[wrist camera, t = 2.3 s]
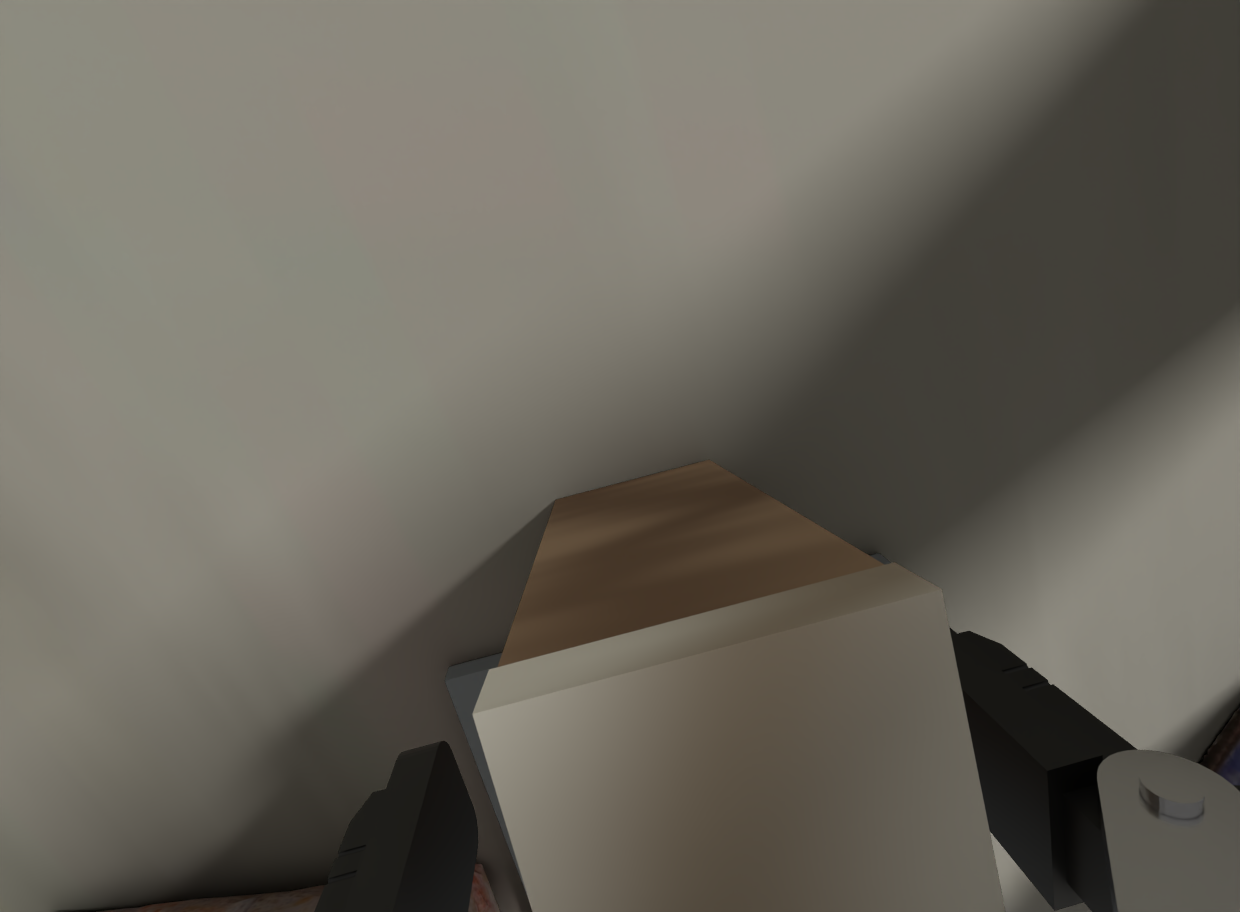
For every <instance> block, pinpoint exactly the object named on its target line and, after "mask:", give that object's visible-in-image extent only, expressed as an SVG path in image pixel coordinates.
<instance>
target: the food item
mask: <svg viewBox="0 0 1240 912" xmlns="http://www.w3.org/2000/svg"><path fill="white" fill-rule="evenodd" d="M324 886H325V885H320V886H315V887H310V888H305V889H300V890H294V891H289V892H276V893H265V894H257V895H244V896H231V897H217V898H202V899H193V900H187V901H179V902H170V903H161V904H153V905H147V906H143V907H138V908H124V909H116V910H108V911H98V912H314V911H315V908H316V906H317V903H318V901H319V899H320V896H321V894H322V891H323V889H324ZM468 912H500V910H499V907H498V905H497V902H496V900H495V897H494V895H493V892H492V890H491V887H490V885H489V882H488V879H487V877H486V874H485V871H484V868H483V866H482V864H475V870H474V876H473V883H472V890H471V896H470V903H469V909H468Z"/></svg>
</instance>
